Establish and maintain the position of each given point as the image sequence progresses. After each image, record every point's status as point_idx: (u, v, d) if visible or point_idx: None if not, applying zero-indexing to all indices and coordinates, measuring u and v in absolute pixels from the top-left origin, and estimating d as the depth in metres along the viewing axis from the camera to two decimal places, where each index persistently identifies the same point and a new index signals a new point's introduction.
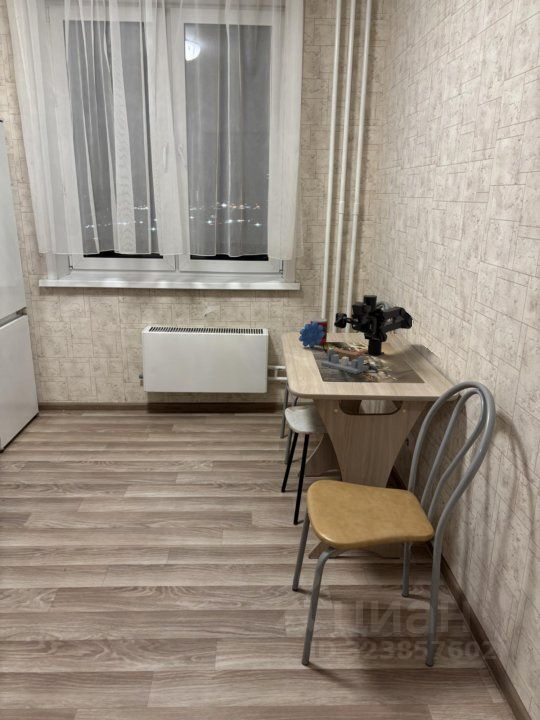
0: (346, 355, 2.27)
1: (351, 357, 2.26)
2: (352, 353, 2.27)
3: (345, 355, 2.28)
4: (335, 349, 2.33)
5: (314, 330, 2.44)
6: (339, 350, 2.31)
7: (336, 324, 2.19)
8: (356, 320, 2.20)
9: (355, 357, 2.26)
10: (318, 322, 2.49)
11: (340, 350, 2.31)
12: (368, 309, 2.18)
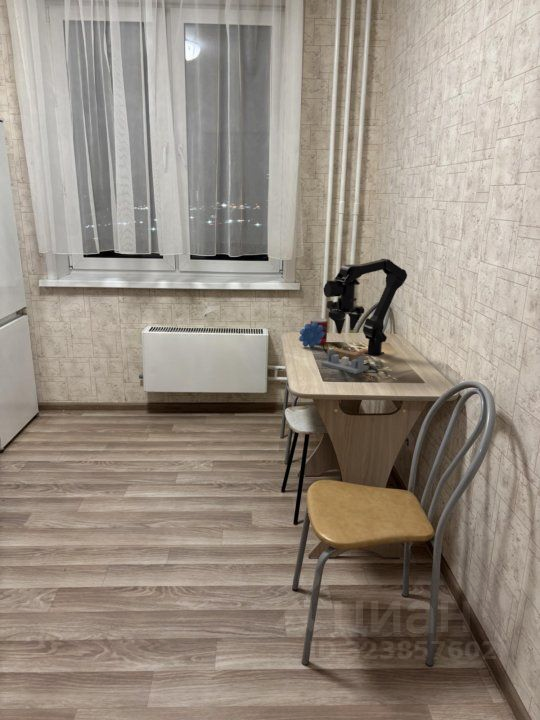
0: (346, 355, 2.27)
1: (351, 357, 2.26)
2: (353, 353, 2.27)
3: (345, 355, 2.28)
4: (335, 349, 2.33)
5: (314, 330, 2.44)
6: (339, 350, 2.32)
7: (351, 327, 2.30)
8: None
9: (355, 357, 2.26)
10: (318, 322, 2.49)
11: (340, 350, 2.32)
12: (329, 305, 2.25)
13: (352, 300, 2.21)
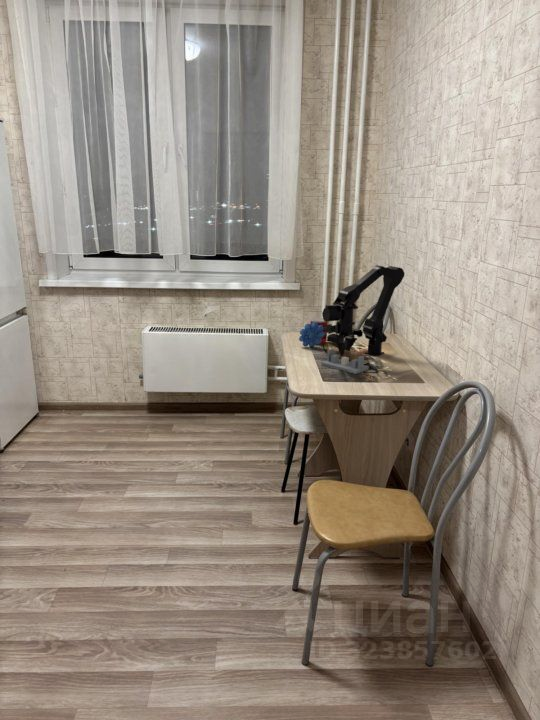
0: (346, 355, 2.27)
1: (351, 357, 2.26)
2: (352, 353, 2.27)
3: (345, 355, 2.28)
4: (335, 349, 2.33)
5: (314, 330, 2.44)
6: None
7: None
8: None
9: (355, 357, 2.25)
10: (318, 322, 2.49)
11: None
12: (328, 329, 2.28)
13: (350, 324, 2.24)
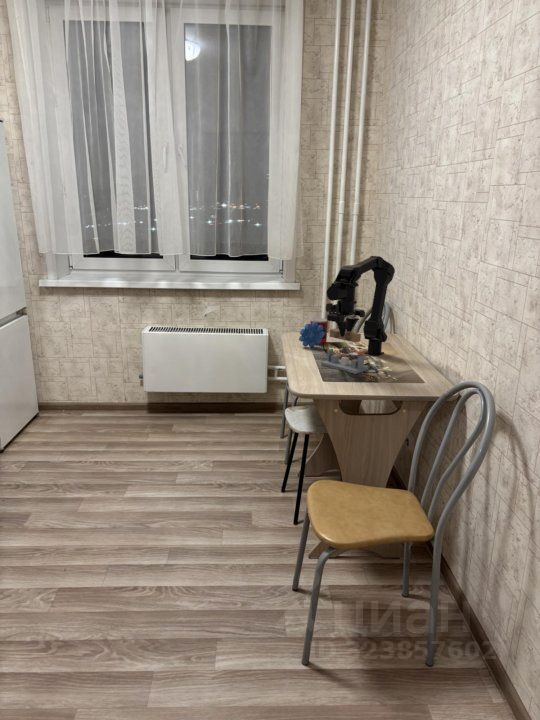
0: (347, 335, 2.15)
1: (352, 337, 2.14)
2: (354, 333, 2.15)
3: (346, 335, 2.16)
4: (336, 329, 2.21)
5: (314, 330, 2.44)
6: None
7: None
8: None
9: (356, 337, 2.14)
10: (318, 322, 2.49)
11: None
12: (328, 308, 2.17)
13: (352, 303, 2.13)
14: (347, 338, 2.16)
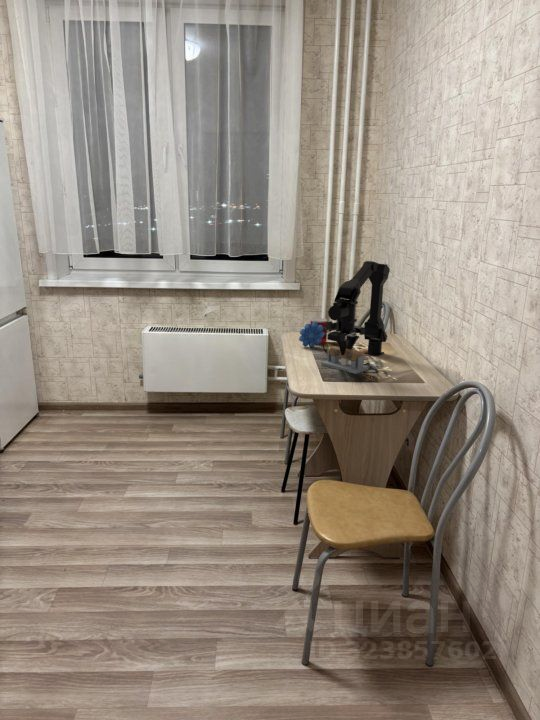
0: (347, 354, 2.13)
1: (353, 356, 2.12)
2: (354, 352, 2.13)
3: (346, 354, 2.14)
4: (336, 347, 2.19)
5: (314, 330, 2.44)
6: None
7: None
8: None
9: (357, 356, 2.11)
10: (318, 322, 2.49)
11: None
12: (328, 326, 2.14)
13: (352, 321, 2.10)
14: (348, 356, 2.13)
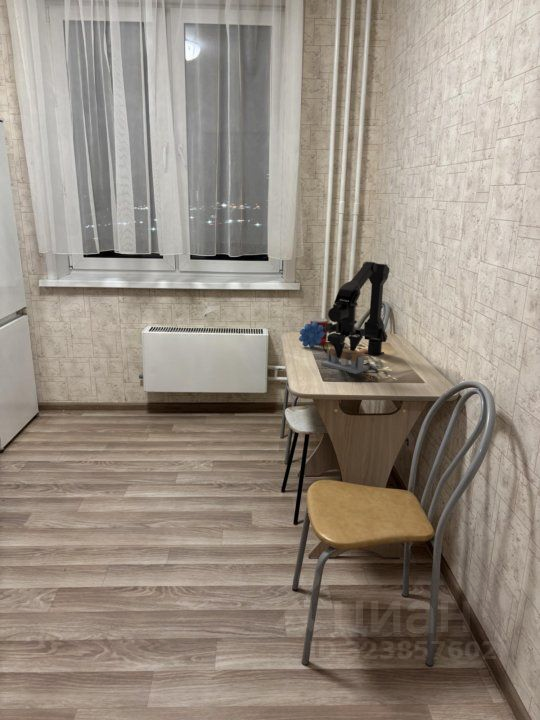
0: (347, 354, 2.13)
1: (353, 356, 2.12)
2: (354, 352, 2.13)
3: (346, 354, 2.14)
4: None
5: (314, 330, 2.44)
6: None
7: None
8: None
9: (357, 356, 2.11)
10: (318, 322, 2.49)
11: None
12: (328, 328, 2.14)
13: (352, 323, 2.10)
14: (348, 357, 2.13)
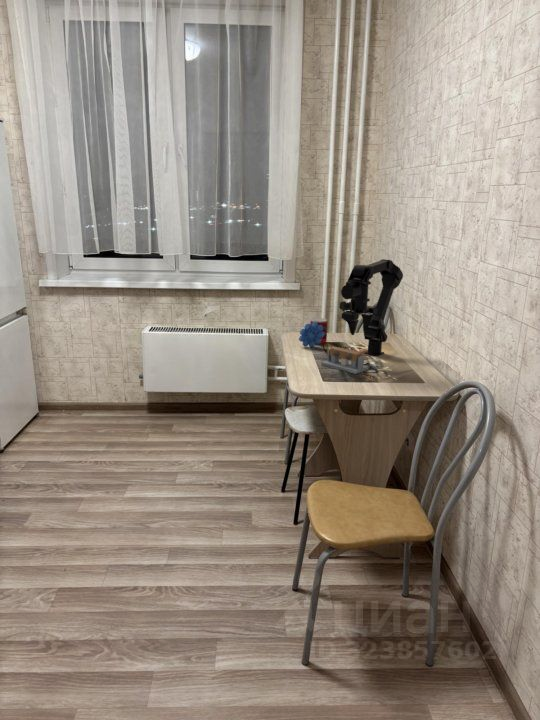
0: (347, 354, 2.13)
1: (353, 356, 2.12)
2: (354, 352, 2.13)
3: (346, 354, 2.14)
4: (336, 348, 2.19)
5: (314, 330, 2.44)
6: (340, 349, 2.17)
7: (364, 328, 2.27)
8: None
9: (357, 356, 2.11)
10: (318, 322, 2.49)
11: (341, 349, 2.17)
12: (342, 306, 2.22)
13: (365, 301, 2.18)
14: (348, 357, 2.13)
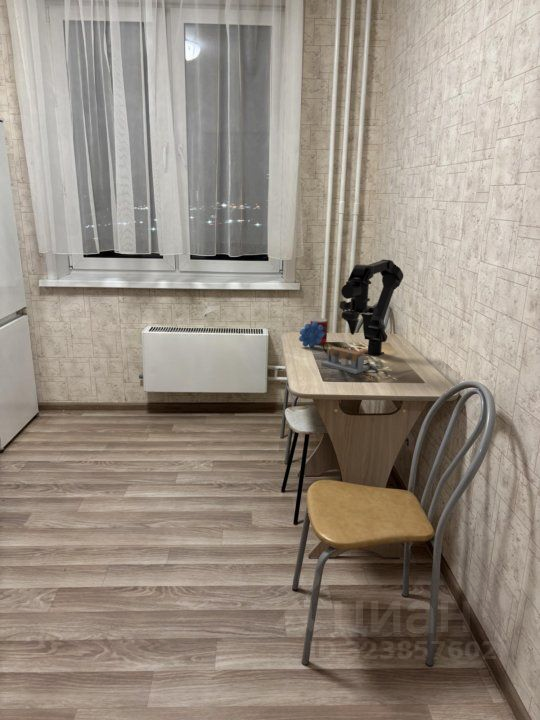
0: (347, 354, 2.13)
1: (353, 356, 2.12)
2: (354, 352, 2.13)
3: (346, 354, 2.14)
4: (336, 348, 2.19)
5: (314, 330, 2.44)
6: (340, 349, 2.17)
7: (364, 328, 2.27)
8: None
9: (357, 356, 2.11)
10: (318, 322, 2.49)
11: (341, 349, 2.17)
12: (342, 306, 2.22)
13: (365, 300, 2.18)
14: (348, 357, 2.13)
